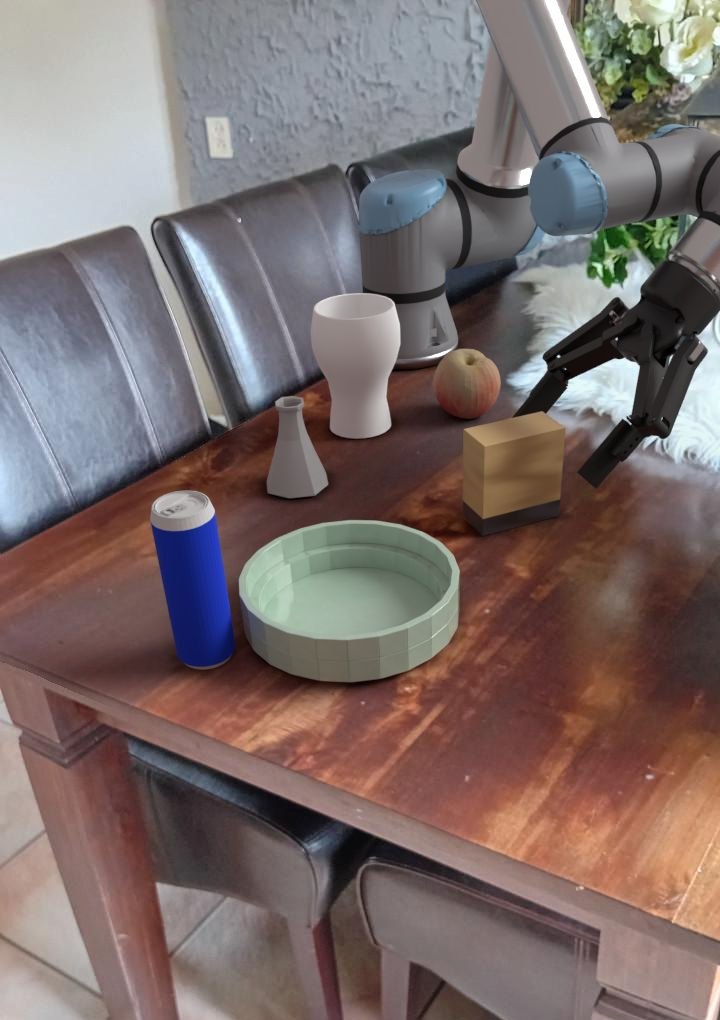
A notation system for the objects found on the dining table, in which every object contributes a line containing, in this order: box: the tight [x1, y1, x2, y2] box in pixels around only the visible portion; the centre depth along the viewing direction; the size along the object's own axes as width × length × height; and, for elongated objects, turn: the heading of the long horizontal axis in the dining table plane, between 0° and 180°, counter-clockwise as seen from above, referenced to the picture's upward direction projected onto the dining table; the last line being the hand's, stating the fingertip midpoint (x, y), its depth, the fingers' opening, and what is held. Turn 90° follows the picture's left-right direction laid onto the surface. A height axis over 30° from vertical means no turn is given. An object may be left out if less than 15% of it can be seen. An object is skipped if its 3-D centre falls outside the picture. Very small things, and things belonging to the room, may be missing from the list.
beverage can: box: [149, 490, 237, 671], centre depth 84 cm, size 5×5×15 cm
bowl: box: [238, 519, 461, 683], centre depth 90 cm, size 19×19×5 cm
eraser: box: [462, 411, 566, 537], centre depth 102 cm, size 9×4×10 cm, turn 112°
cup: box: [310, 292, 400, 440], centre depth 121 cm, size 11×11×15 cm
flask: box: [266, 395, 329, 499], centre depth 110 cm, size 7×7×10 cm
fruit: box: [432, 348, 501, 420], centre depth 124 cm, size 8×8×8 cm
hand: (550, 453), depth 103 cm, fingers open, 13 cm apart
